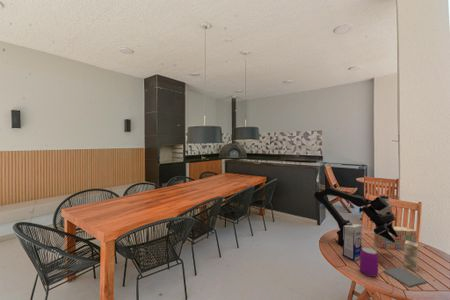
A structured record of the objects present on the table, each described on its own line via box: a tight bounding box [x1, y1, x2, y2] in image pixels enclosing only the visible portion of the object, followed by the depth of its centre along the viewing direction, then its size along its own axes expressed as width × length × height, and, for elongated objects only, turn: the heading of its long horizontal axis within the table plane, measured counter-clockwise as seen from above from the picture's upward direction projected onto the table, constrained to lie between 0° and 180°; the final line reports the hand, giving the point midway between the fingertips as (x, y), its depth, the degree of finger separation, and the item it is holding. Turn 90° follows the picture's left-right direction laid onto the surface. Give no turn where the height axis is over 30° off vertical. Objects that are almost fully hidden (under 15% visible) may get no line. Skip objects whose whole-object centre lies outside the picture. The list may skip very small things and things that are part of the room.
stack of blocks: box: [373, 226, 417, 250], centre depth 134 cm, size 21×6×12 cm, turn 86°
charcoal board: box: [382, 266, 428, 288], centre depth 104 cm, size 12×12×1 cm
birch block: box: [403, 240, 419, 271], centre depth 113 cm, size 5×5×13 cm
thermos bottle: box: [377, 195, 392, 223], centre depth 152 cm, size 8×8×28 cm
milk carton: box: [342, 222, 363, 262], centre depth 122 cm, size 7×7×20 cm
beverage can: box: [359, 246, 379, 277], centre depth 107 cm, size 8×8×12 cm
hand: (395, 239), depth 117 cm, fingers open, 9 cm apart
